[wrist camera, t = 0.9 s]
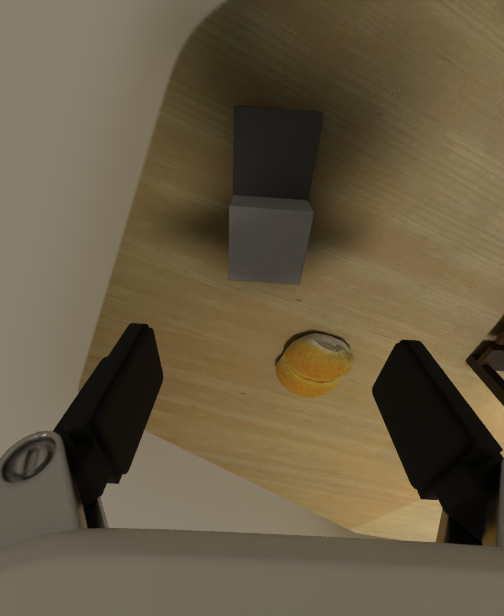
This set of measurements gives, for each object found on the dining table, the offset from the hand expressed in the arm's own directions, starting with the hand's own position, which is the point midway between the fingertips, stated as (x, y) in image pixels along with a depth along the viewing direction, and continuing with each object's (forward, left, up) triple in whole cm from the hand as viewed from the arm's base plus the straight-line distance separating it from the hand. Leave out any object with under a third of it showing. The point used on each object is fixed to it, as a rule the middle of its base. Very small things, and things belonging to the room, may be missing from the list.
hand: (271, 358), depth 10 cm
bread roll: (+15, +7, -15) cm, 22 cm away
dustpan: (-3, 0, -15) cm, 15 cm away
